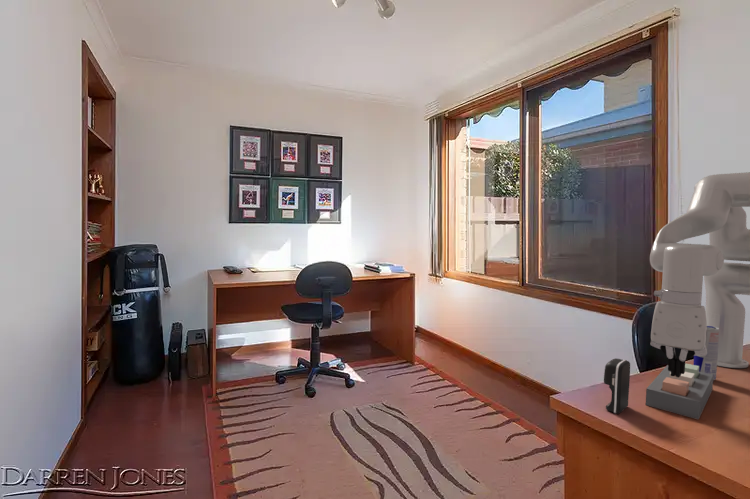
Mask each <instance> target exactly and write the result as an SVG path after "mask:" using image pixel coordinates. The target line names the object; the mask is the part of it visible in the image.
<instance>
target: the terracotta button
mask: <svg viewBox="0 0 750 499" xmlns="http://www.w3.org/2000/svg"><path fill="white" fill-rule="evenodd" d="M662 391H667V392H671V393H675V394H679V395H683V396H687V395H688V392H689V382H686V381H682V380H678V379H673V378H669V377H666V378H665V380H664V381H663V385H662Z"/></svg>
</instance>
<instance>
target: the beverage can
mask: <svg viewBox="0 0 750 499" xmlns="http://www.w3.org/2000/svg"><path fill="white" fill-rule="evenodd" d="M718 342H719V328H717V327H713V326H707V342H706V350H707V354H706V355H705V356H693V364H692V365H696V366H699V372H703V373H708V374H713V381H715V380H716V379H717V369H718V366H717V357H718Z"/></svg>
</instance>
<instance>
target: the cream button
mask: <svg viewBox="0 0 750 499" xmlns="http://www.w3.org/2000/svg"><path fill="white" fill-rule="evenodd" d="M669 378H673V379H678V380H682V381H686V382H689V386H690V387H693V385H694V373H689V372H685V373H684V374H681V376H680V377H679V378H678V377H676V376H671V372H670V374H669Z"/></svg>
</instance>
